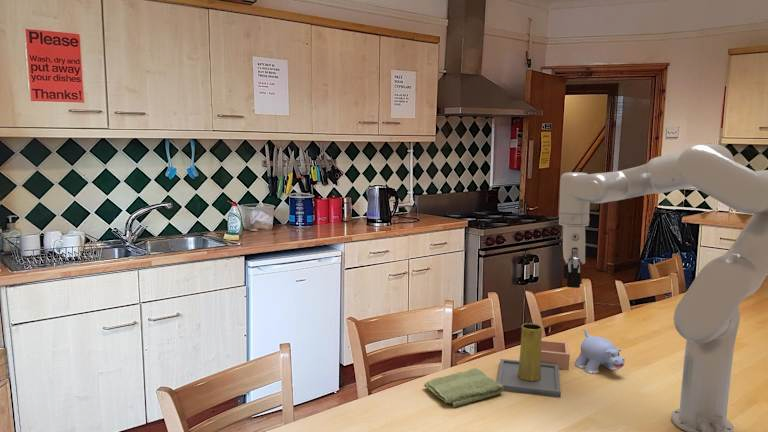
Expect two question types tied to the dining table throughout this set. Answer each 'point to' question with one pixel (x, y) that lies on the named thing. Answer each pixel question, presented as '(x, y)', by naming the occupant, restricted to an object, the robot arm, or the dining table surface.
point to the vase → (530, 352)
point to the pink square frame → (555, 353)
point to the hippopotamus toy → (598, 354)
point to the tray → (544, 386)
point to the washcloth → (464, 387)
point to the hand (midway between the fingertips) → (571, 282)
